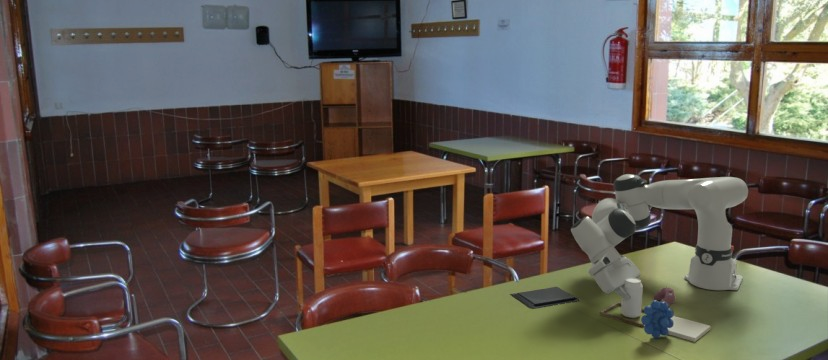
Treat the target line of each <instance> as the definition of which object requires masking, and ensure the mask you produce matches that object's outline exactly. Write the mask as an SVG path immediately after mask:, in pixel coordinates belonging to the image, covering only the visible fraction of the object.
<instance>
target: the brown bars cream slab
mask: <svg viewBox="0 0 828 360" xmlns="http://www.w3.org/2000/svg"><path fill="white" fill-rule="evenodd" d="M618 306H620V307H621V302H619V301H617V302H614V303H613V304H611V305H609V306H608V307H606V308H604V309H602V310H601V311H599V316H602V317H606V318H609V319H613V320H617V321H619V322H620V321H621V322H624V323H627V324H631V325H634V326H637V327H641V328H644V326H645V325H644V324H643V323H642V322H639V321H636V320H631V319H630V318H629V319H628V318H624V317H621V316H618V315H616V314H615V315H614V314H611V313H609V312H610V311H612V310H613V309H614V308H616V307H618ZM607 312H608V313H607ZM641 313H644V308H642V307H641ZM670 319H672V320H673V323H674V325H673V327H671V328H668V334H667V335H670V336H674V337H678V338H680V339H684V340H687V341H690V342H694V343H695V342H697V341H698V340H699V339H701V338H702V337H703V336H704V335H706V334H707V333H708V332H709V331H711V329H712V328H711V325H710V324H709V325H708V324H706V323H701V322H698V321H693V320H691V319H686V318H682V317H678V316H677V315H673V317H672V318H670Z"/></svg>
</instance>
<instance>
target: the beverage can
mask: <svg viewBox="0 0 828 360" xmlns="http://www.w3.org/2000/svg"><path fill="white" fill-rule="evenodd" d="M643 287H644V286H643V283H642V280H641V279H640V278H639V277H637V278H629V279H627V280H625V284H624V285H622V288H623V290H624V291H625V292H626V293H628V294H629V295H630V296H631V298H630V299H629V300H627V301H625V300H624V299H623V297H621V302H620V303H621V306H620V313H621V314H622V315H623V317H626V318H627V319H628V318H629V319H637V318H638V317H640V316H641V315H642V312H641V308H642V306H643V290H644V288H643Z"/></svg>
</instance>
